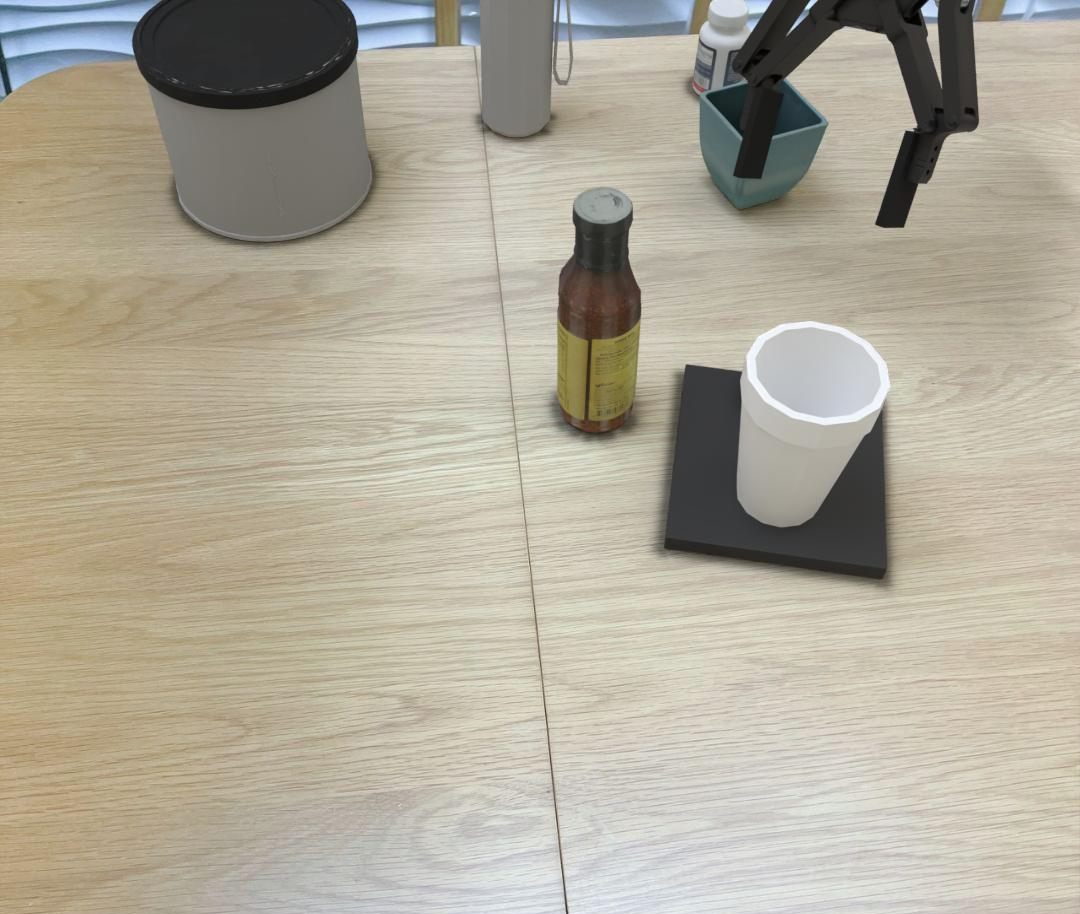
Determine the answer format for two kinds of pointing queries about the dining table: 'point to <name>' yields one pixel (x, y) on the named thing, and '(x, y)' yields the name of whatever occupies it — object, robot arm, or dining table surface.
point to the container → (258, 112)
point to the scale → (723, 524)
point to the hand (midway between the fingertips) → (814, 201)
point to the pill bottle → (720, 45)
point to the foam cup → (803, 416)
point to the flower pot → (788, 147)
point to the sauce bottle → (598, 315)
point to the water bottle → (519, 63)
